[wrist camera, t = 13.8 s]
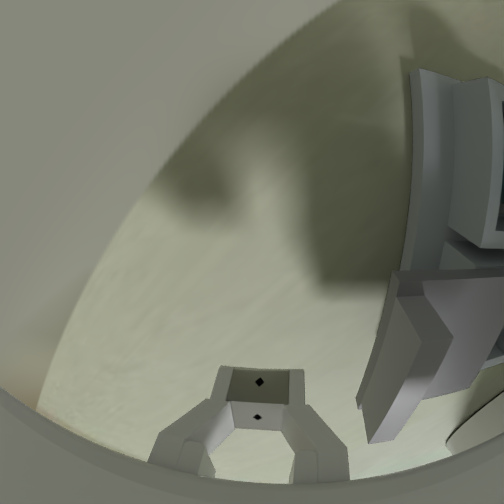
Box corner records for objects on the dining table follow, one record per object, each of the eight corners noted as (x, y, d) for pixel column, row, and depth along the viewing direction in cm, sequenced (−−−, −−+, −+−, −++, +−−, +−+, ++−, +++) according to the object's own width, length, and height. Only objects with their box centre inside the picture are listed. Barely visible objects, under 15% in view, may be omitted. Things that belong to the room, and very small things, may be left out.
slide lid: (391, 270, 9) (428, 324, 6) (513, 267, 8) (552, 302, 5) (355, 397, 11) (364, 449, 8) (464, 378, 11) (483, 417, 8)
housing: (409, 72, 9) (452, 53, 5) (532, 121, 8) (573, 126, 4) (380, 344, 15) (397, 392, 12) (493, 328, 14) (517, 360, 10)
